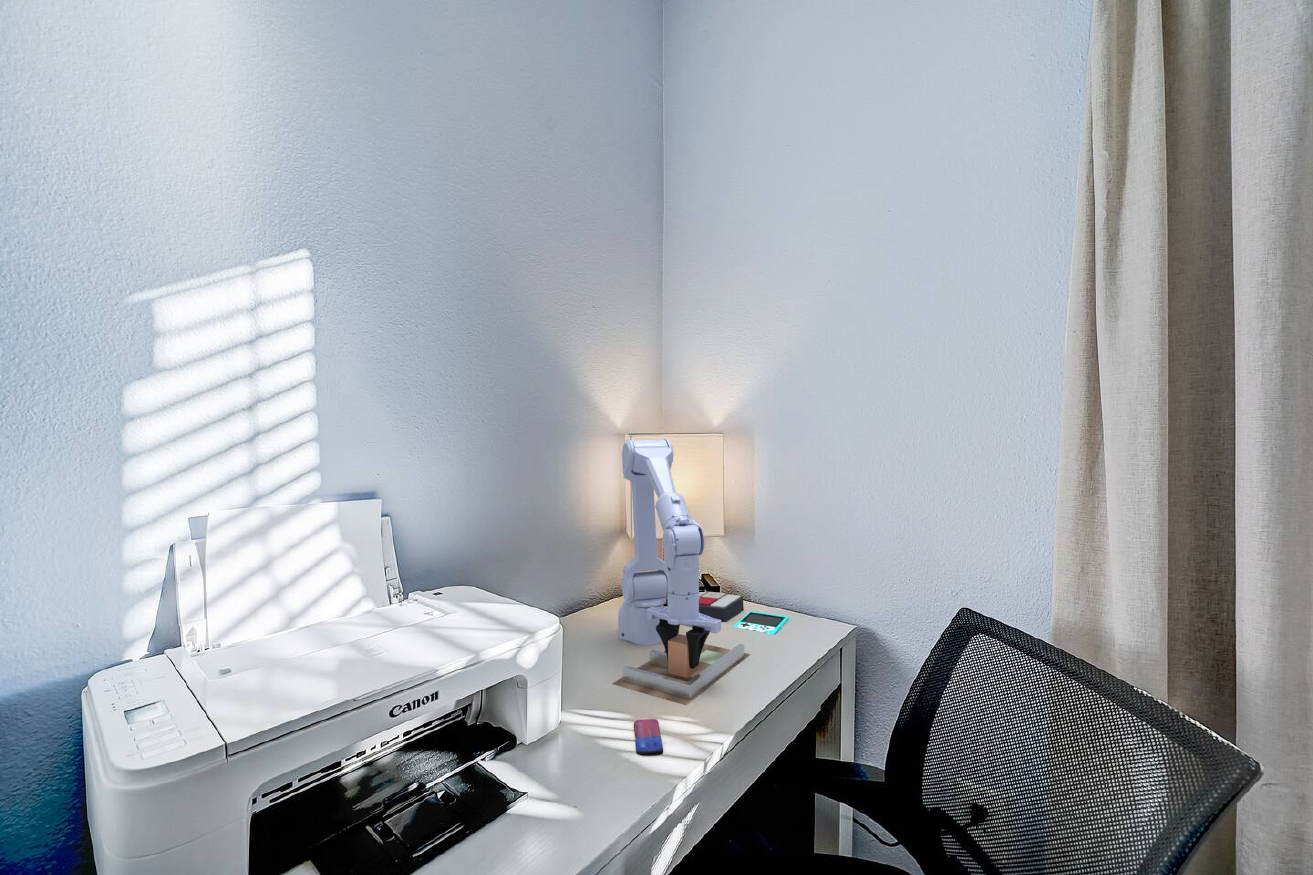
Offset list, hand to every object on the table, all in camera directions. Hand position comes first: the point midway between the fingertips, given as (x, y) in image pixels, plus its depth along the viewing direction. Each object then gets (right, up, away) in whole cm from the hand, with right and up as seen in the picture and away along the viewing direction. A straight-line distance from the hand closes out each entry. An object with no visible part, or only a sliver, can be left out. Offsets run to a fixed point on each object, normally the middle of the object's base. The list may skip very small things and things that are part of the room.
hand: (683, 663), depth 117 cm
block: (0, -1, 0) cm, 1 cm away
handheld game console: (+19, -3, +31) cm, 37 cm away
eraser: (-6, -5, -20) cm, 21 cm away
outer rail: (+1, -3, +5) cm, 6 cm away
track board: (+1, -4, +5) cm, 6 cm away
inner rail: (-1, -2, +11) cm, 11 cm away
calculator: (+8, -3, +43) cm, 43 cm away
